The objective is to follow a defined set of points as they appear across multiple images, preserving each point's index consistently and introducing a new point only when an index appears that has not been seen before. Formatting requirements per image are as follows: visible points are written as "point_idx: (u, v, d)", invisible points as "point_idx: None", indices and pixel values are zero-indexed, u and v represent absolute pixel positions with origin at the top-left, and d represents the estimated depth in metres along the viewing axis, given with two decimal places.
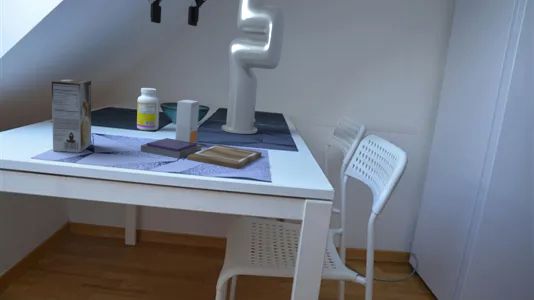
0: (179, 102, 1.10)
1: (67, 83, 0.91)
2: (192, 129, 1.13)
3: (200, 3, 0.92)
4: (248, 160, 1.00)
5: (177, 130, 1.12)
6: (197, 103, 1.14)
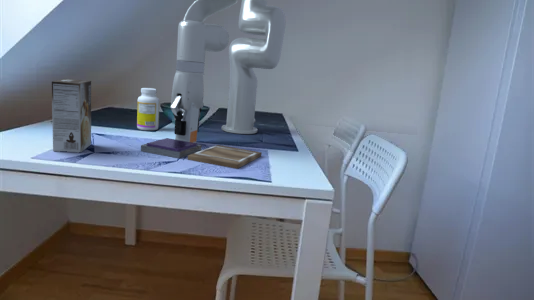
0: None
1: (67, 83, 0.91)
2: (192, 129, 1.13)
3: None
4: (248, 160, 1.00)
5: None
6: None
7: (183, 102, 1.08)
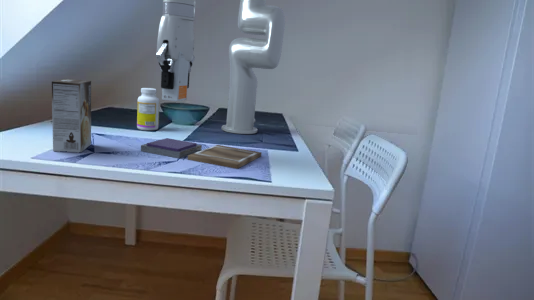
0: None
1: (67, 83, 0.91)
2: (181, 83, 1.00)
3: None
4: (248, 160, 1.00)
5: None
6: None
7: (170, 50, 0.95)
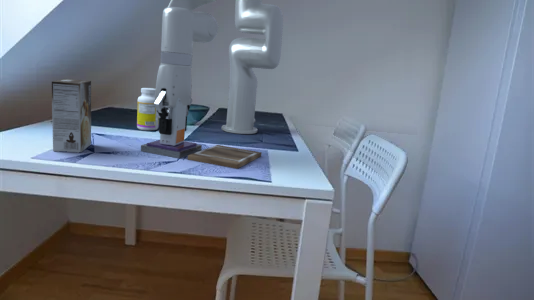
0: None
1: (67, 83, 0.91)
2: (179, 127, 1.02)
3: None
4: (248, 160, 1.00)
5: None
6: None
7: (168, 98, 0.97)
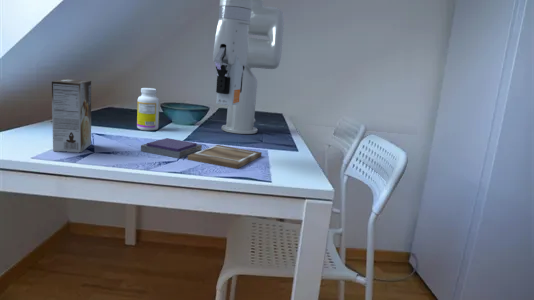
0: None
1: (67, 83, 0.91)
2: (236, 87, 0.98)
3: None
4: (248, 160, 1.00)
5: None
6: None
7: (228, 54, 0.93)
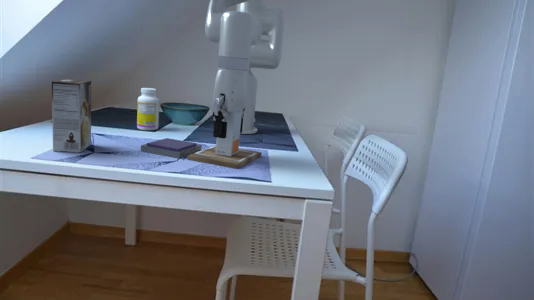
0: (221, 108, 0.99)
1: (67, 83, 0.91)
2: (235, 138, 1.01)
3: None
4: (248, 160, 1.00)
5: (218, 139, 1.00)
6: None
7: (227, 103, 0.95)
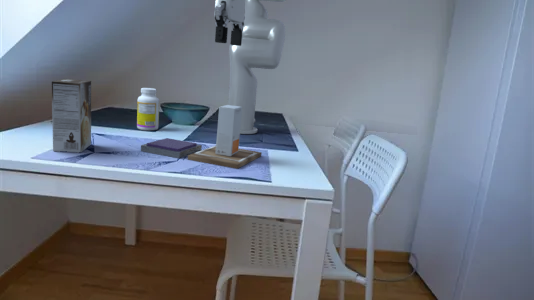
0: (221, 108, 0.99)
1: (67, 83, 0.91)
2: (235, 138, 1.01)
3: None
4: (248, 160, 1.00)
5: (218, 139, 1.00)
6: (240, 109, 1.02)
7: (227, 10, 1.06)
